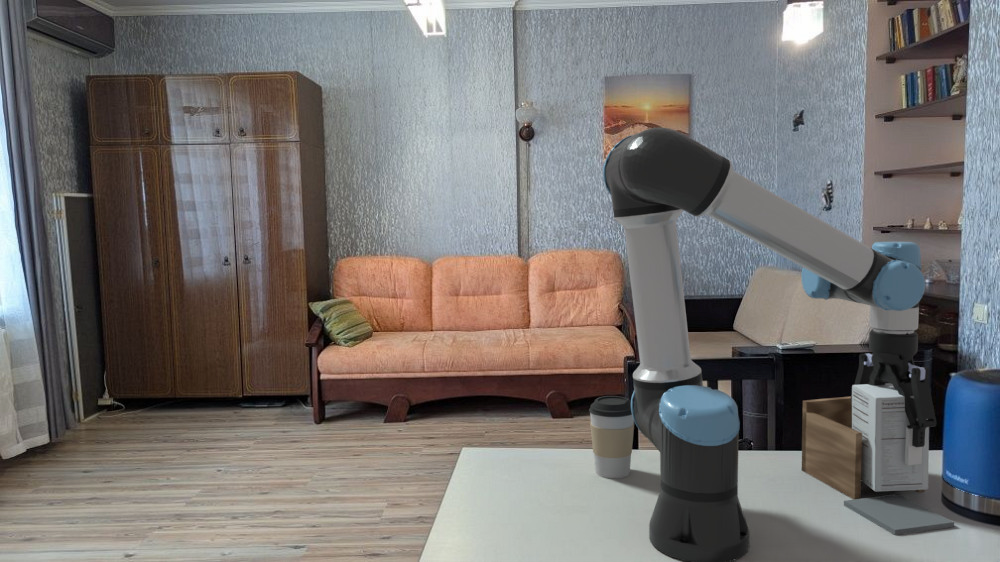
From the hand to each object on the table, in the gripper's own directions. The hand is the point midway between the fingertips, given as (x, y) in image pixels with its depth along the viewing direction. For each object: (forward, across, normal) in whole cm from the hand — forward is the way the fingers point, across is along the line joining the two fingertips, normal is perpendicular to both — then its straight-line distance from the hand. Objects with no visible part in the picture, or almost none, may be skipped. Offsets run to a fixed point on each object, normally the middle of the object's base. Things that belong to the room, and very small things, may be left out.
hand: (889, 453), depth 129 cm
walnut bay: (+8, +7, 0) cm, 10 cm away
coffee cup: (+8, +25, +42) cm, 50 cm away
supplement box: (+5, 0, 0) cm, 5 cm away
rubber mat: (+8, -8, +5) cm, 12 cm away
